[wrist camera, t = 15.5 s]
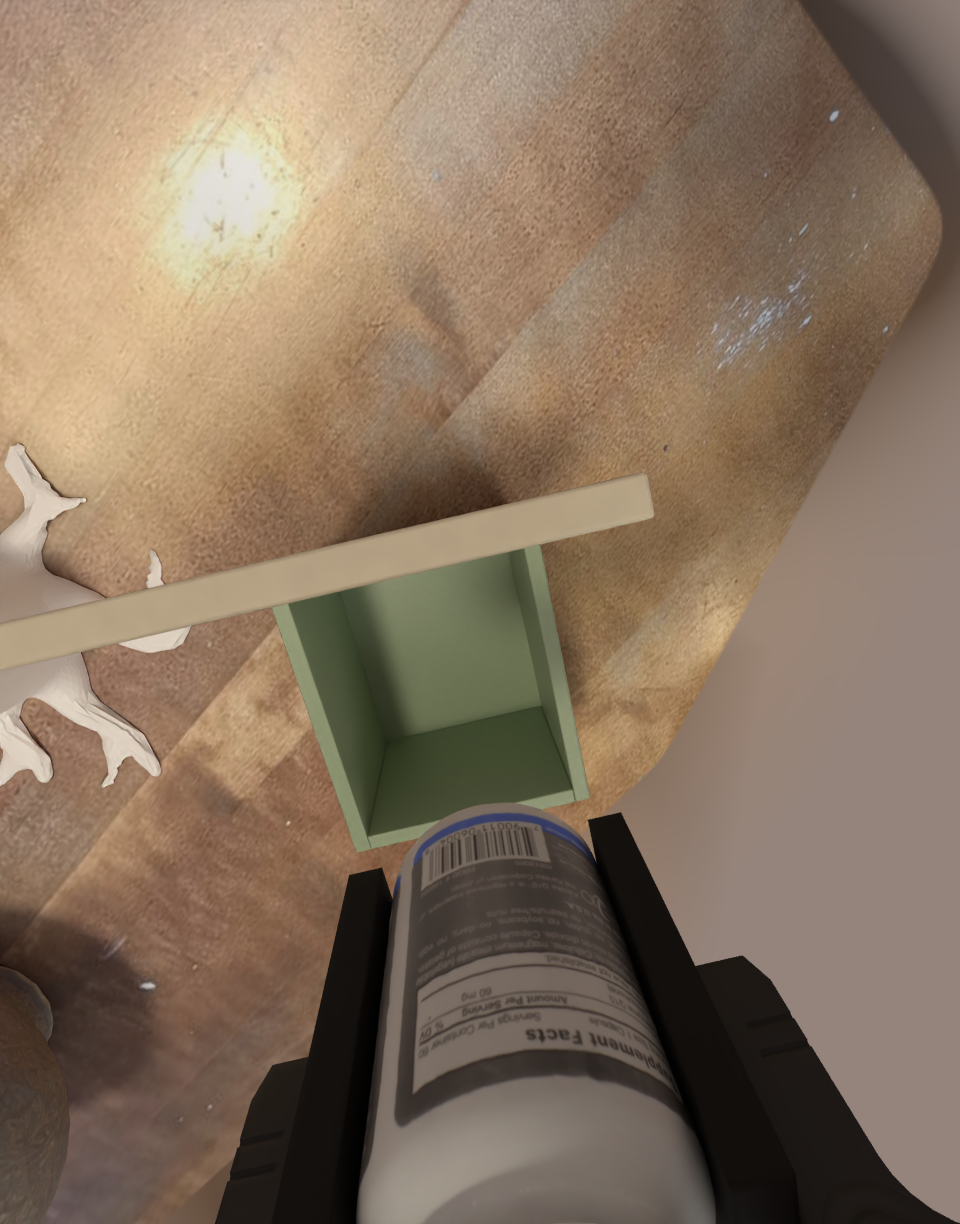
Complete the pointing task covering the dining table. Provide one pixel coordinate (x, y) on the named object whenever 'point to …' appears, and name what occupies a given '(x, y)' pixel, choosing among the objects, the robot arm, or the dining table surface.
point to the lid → (325, 570)
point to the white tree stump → (21, 586)
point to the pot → (29, 1103)
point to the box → (438, 694)
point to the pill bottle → (519, 1044)
